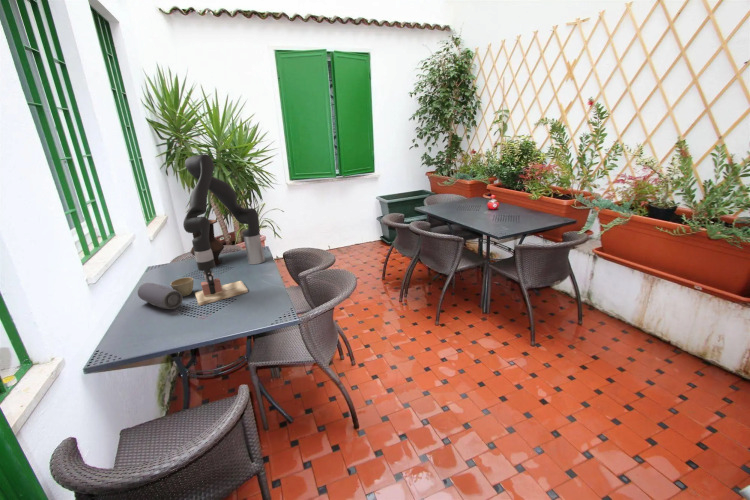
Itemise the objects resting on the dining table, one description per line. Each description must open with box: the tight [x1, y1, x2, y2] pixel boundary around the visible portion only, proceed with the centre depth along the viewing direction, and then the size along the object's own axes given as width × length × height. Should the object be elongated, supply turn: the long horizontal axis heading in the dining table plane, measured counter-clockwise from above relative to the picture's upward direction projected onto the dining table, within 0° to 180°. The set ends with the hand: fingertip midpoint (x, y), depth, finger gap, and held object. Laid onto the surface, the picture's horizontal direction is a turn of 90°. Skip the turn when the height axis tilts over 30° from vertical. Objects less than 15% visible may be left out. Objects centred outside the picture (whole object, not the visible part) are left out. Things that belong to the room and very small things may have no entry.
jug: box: [190, 219, 225, 266], centre depth 204 cm, size 21×18×30 cm
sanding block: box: [200, 277, 223, 297], centre depth 164 cm, size 8×4×6 cm, turn 123°
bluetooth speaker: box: [137, 282, 184, 310], centre depth 157 cm, size 23×9×10 cm, turn 59°
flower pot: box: [170, 276, 194, 297], centre depth 168 cm, size 10×10×7 cm
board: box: [194, 280, 249, 306], centre depth 167 cm, size 22×14×2 cm, turn 123°
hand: (212, 291), depth 165 cm, fingers closed on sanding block, 4 cm apart
